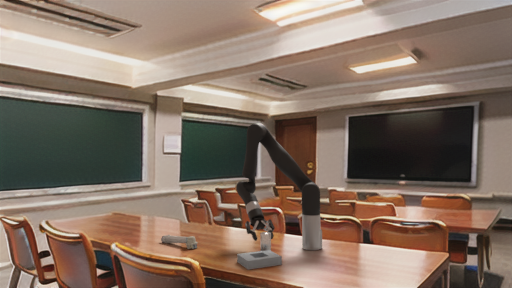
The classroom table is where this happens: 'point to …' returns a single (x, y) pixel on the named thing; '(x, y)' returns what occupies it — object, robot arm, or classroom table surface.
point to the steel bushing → (265, 241)
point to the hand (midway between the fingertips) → (264, 239)
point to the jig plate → (259, 259)
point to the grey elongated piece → (180, 240)
